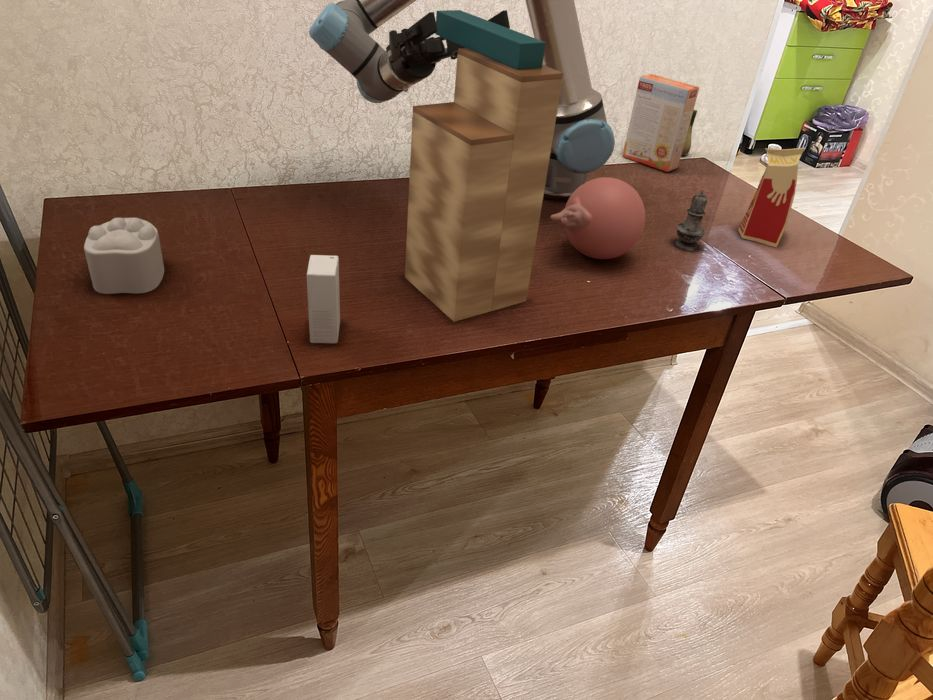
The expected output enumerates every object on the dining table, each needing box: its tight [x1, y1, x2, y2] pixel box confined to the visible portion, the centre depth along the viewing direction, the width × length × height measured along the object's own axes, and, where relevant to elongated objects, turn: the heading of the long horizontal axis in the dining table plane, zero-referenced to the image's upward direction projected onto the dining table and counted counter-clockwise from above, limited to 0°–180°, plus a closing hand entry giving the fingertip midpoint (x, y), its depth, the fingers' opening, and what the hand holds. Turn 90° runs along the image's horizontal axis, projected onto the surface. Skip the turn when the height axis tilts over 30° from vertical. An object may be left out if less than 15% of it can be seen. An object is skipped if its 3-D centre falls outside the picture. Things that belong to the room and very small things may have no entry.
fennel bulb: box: [681, 109, 698, 156], centre depth 191 cm, size 6×5×12 cm
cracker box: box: [622, 73, 700, 173], centre depth 181 cm, size 14×6×21 cm, turn 47°
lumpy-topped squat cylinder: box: [83, 217, 165, 295], centre depth 116 cm, size 10×13×9 cm
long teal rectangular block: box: [434, 9, 546, 70], centre depth 107 cm, size 22×4×4 cm, turn 34°
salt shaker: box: [673, 190, 708, 252], centre depth 144 cm, size 6×6×12 cm
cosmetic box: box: [306, 254, 341, 344], centre depth 106 cm, size 6×4×12 cm
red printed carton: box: [737, 147, 806, 249], centre depth 149 cm, size 9×9×20 cm
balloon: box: [550, 176, 646, 260], centre depth 134 cm, size 15×20×15 cm
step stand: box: [404, 48, 563, 323], centre depth 113 cm, size 16×15×38 cm
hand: (471, 20), depth 109 cm, fingers open, 13 cm apart
